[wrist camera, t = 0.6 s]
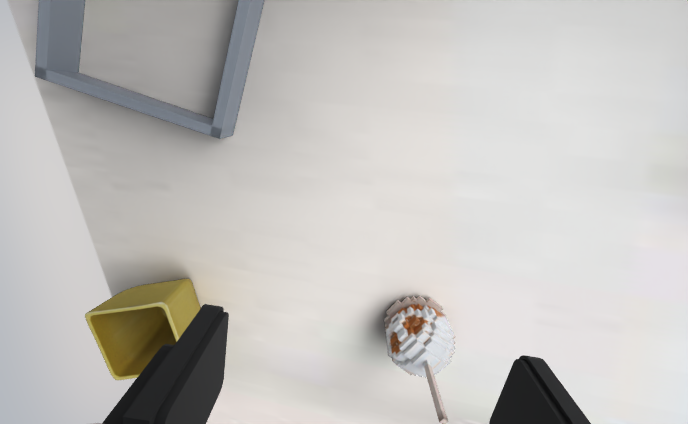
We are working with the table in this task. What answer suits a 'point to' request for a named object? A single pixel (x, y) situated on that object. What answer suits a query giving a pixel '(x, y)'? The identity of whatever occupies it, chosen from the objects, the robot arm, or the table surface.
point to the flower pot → (141, 324)
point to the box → (63, 68)
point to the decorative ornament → (420, 341)
